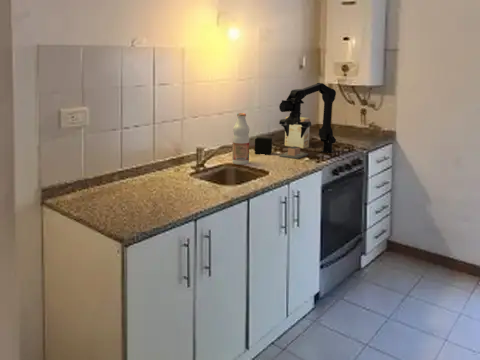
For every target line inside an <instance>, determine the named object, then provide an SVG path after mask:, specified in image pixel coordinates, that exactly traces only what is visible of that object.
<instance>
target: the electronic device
mask: <svg viewBox="0 0 480 360" xmlns="http://www.w3.org/2000/svg"><path fill="white" fill-rule="evenodd" d="M272 153H273V138H272V137H263V136H262V137H261V136H257V137H255V139H254V154H255V155H260V154H265V155H264V156H270V155H271V154H272Z"/></svg>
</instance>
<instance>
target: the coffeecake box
mask: <svg viewBox="0 0 480 360" xmlns="http://www.w3.org/2000/svg"><path fill="white" fill-rule="evenodd" d="M289 116H290V115H289ZM289 116H285V119H287V118H288V117H289ZM300 120H301V121H300V122H303V121H310V122H311V118H310V117H303V116H300ZM301 127H302V126H301V125H296V124H294V125H289V135H288V136H287V135H286V131H285V130H284V147H289V148H290V147H293V146H295V147H300V149H307V148H310V129H311V128H310V127H311V126H309V127H308V128H307V129H306V131H305V133H304V135H303V137H302V138H301Z"/></svg>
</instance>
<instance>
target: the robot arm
mask: <svg viewBox="0 0 480 360" xmlns="http://www.w3.org/2000/svg"><path fill="white" fill-rule="evenodd" d="M316 92H319V93H320V94H321V98H322V101H323V103H324V104H323V114H322V115H323V117H322V126H321V128H318V134H317V135H318V137H319V139H320V142H321V143H322V142H323V144H322V149H321V151H320V152H321V153H326V154H328V153H329V154H331V153H334V152H335V151H334V150H333V145H334V144H335V143H337V139H336V137H335V136H334V132H333V131H334V130H333V128H332V126H331V125H332V114H333V113H332V112H333V103H334V102H335V100H336V95H337V92H336V90H335V88H331V87H330V86H327V85H326V84H325V83H323V82H318V83H315V84H312V85H309V86H306V87H304V88H297V89H291V91H290V93H289V94H288V97H286V99H285V100H283V99H282V100H281V102H280V103H279V106H278V107H279V108H278V109H279V111H280V113H286V112H287V113H288V112H290V113H289V117H288V116H287V117H288V118H287V119H286V118H282V119H279V121H278V122H279V123H278V124H279V125H280V126H281V127H283V128H284V132H285V131H286V135H287V136H288V135H289V125H294V124H296V125H301V126H302V127H301V138H302V137H303V135H304V133H305V131H306V129H307V128H308V127H309V126H310V127H312V122H311V120H310V121H303V122H300V121H301V120H300V117H301V115H302V111H301V108H302V105H303V104H305V102H304V99H305V97H306V96H308V95H311V94H314V93H316ZM302 99H303V100H302Z"/></svg>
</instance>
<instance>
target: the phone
mask: <svg viewBox="0 0 480 360" xmlns="http://www.w3.org/2000/svg"><path fill="white" fill-rule="evenodd" d="M287 152H288V155H293V156H295V155H298V154H300V152H301V148H300V147H295V146H293V147H290V146H289V147H288V148H287Z"/></svg>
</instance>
